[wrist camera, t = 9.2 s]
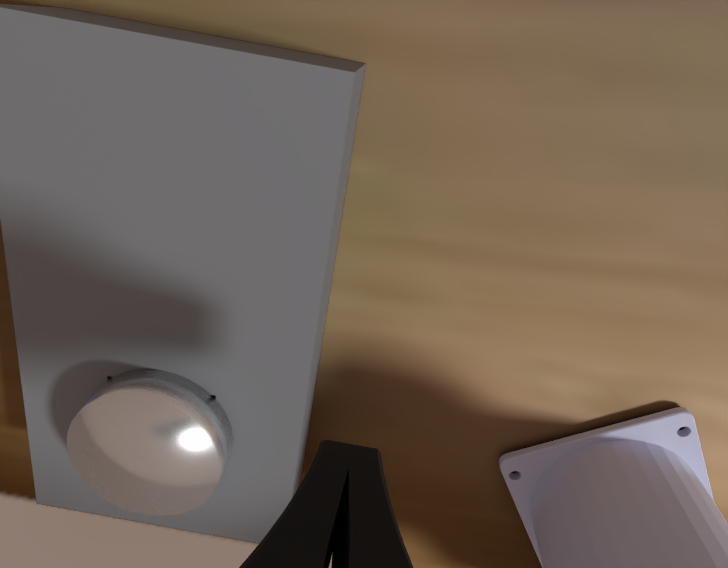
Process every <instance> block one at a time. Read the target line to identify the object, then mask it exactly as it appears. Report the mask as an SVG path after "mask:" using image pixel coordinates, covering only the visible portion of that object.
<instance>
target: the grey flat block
mask: <svg viewBox="0 0 728 568" xmlns="http://www.w3.org/2000/svg"><path fill="white" fill-rule="evenodd" d="M365 64H366V63H360V62H355V61H350V60H344V59H339V58H333V57H328V56H322V55H317V54H312V53H306V52H301V51H295V50H290V49H284V48H279V47H273V46H268V45H263V44H257V43H252V42H246V41H241V40H235V39H230V38H225V37H219V36H214V35H208V34H203V33H197V32H192V31H187V30H181V29H176V28H170V27H165V26H159V25H154V24H148V23H143V22H138V21H132V20H127V19H121V18H116V17H110V16H105V15H100V14H94V13H89V12H83V11H78V10H72V9H67V8H62V7H45V6H29V5H12V4H0V221H1V229H2V237H3V244H4V252H5V260H6V268H7V275H8V283H9V291H10V299H11V307H12V314H13V322H14V330H15V338H16V345H17V353H18V361H19V369H20V377H21V384H22V392H23V400H24V408H25V415H26V423H27V431H28V439H29V447H30V454H31V462H32V470H33V478H34V486H35V493H36V501H37V504H42V505H47V506H53V507H58V508H64V509H69V510H75V511H81V512H86V513H92V514H97V515H103V516H108V517H114V518H120V519H125V520H131V521H136V522H142V523H147V524H153V525H158V526H164V527H170V528H175V529H181V530H186V531H192V532H197V533H203V534H209V535H214V536H220V537H225V538H231V539H236V540H242V541H247V542H253V543H259V544H260V542H261V541H262V540H263V538H264V537H265V536H266V535H267V533H268V532H269V531H270V529H271V528H272V526H273V525H274V524H275V522H276V521H277V520H278V518H279V517H280V515H281V514H282V513H283V511H284V510H285V508H286V507H287V505H288V504H289V502H290V501H291V499H292V498H293V496H294V494H295V493H296V491H297V490H298V488H299V484H300V479H301V475H302V469H303V463H304V456H305V450H306V443H307V437H308V431H309V424H310V418H311V411H312V405H313V399H314V392H315V386H316V379H317V373H318V366H319V360H320V354H321V347H322V341H323V334H324V328H325V321H326V315H327V309H328V302H329V296H330V289H331V283H332V276H333V270H334V264H335V257H336V251H337V244H338V238H339V231H340V225H341V219H342V212H343V206H344V199H345V193H346V186H347V180H348V174H349V167H350V161H351V154H352V148H353V141H354V135H355V129H356V122H357V116H358V109H359V103H360V96H361V90H362V84H363V77H364V71H365ZM136 369H157V370H163V371H168V372H172V373H175V374H178V375H180V376H183V377H185V378H188V379H189V380H191V381H193V382H195V383H197V384H198V385H199V386H201V387H202V388H204V389H205V390H206V391H207V392H209V393H210V394H211V395H215V396H216V400H217V401H218V402H219V404H220V405H221V407H222V408H223V409H224V411H225V413H226V415H227V417H228V419H229V421H230V424H231V428H232V433H233V444H232V449H231V453H230V456H229V458H228V460H227V463H226V465H225V467H224V470H223V472H222V475H221V477H220V479H219V482H218V484H217V486H216V488H215V490H214V492H213V493H212V495H211V496H210V497H209V498H208V499H207V500H206V501H205V502H204V503H203V504H201V505H200V506H198V507H197V508H195V509H193V510H190V511H187V512H185V513H181V514H176V515H168V516H155V515H146V514H141V513H137V512H133V511H130V510H127V509H124V508H122V507H119V506H117V505H115V504H113V503H111V502H109V501H108V500H106V499H104V498H103V497H101V496H100V495H99V494H97V493H96V492H94V491H93V490H92V489H91V488H90V487H89V486H88V485H87V484H86V483H85V482H84V481H83V480H82V479H81V477H80V476H79V474H78V473H77V472H76V470H75V468H74V466H73V465H72V462H71V460H70V457H69V454H68V450H67V433H68V429H69V426H70V424H71V422H72V420H73V419H74V417H75V416H76V415H77V413H78V412H79V411H80V410H81V409H82V408H83V406H84V405H85V404H86V403H87V402H88V401H89V399H90V398H91V397H92V396H93V395H94V394H95V392H96V391H97V390H98V389H99V388H100V387H101V385H103V384H104V383H105V382H106V381H107V380H109V379H110V378H112V377H113V376H115V375H118V374H120V373H122V372H126V371H129V370H136Z"/></svg>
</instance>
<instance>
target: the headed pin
mask: <svg viewBox="0 0 728 568" xmlns="http://www.w3.org/2000/svg"><path fill="white" fill-rule="evenodd" d="M232 444H233V433H232V428H231V424H230V421H229V419H228V417H227V415H226V413H225V411H224V409H223V408H222V407H221V405H220V404H219V402H218V401H217V400H216V396H215V395H211V394H210V393H209V392H207V391H206V390H205V389H204V388H202V387H201V386H199V385H198V384H197V383H195V382H193V381H191V380H189V379H188V378H185V377H183V376H180V375H178V374H175V373H172V372H168V371H163V370H157V369H136V370H129V371H126V372H122V373H120V374H118V375H115V376H113V377H112V378H110V379H109V380H107V381H106V382H105V383H104V384H103V385H101V387H100V388H99V389H98V390H97V391H96V392H95V394H94V395H93V396H92V397H91V398H90V399H89V401H88V402H87V403H86V404H85V405H84V406H83V408H82V409H81V410H80V411H79V412H78V413H77V415H76V416H75V417H74V419H73V420H72V422H71V424H70V426H69V429H68V433H67V450H68V454H69V457H70V460H71V462H72V465H73V466H74V468H75V470H76V472H77V473H78V474H79V476H80V477H81V479H82V480H83V481H84V482H85V483H86V484H87V485H88V486H89V487H90V488H91V489H92V490H93V491H94V492H96V493H97V494H99V495H100V496H101V497H103V498H104V499H106V500H108V501H109V502H111V503H113V504H115V505H117V506H119V507H122V508H124V509H127V510H130V511H133V512H137V513H141V514H146V515H155V516H168V515H176V514H181V513H185V512H187V511H190V510H193V509H195V508H197V507H198V506H200V505H201V504H203V503H204V502H205V501H206V500H207V499H208V498H209V497H210V496H211V495H212V493H213V492H214V490H215V488H216V486H217V484H218V482H219V479H220V477H221V475H222V472H223V470H224V467H225V465H226V463H227V460H228V458H229V456H230V453H231V449H232Z"/></svg>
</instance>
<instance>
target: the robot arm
mask: <svg viewBox="0 0 728 568" xmlns="http://www.w3.org/2000/svg"><path fill="white" fill-rule="evenodd" d="M681 427H685V428H684V429H683V430H679V428H681ZM499 466H500V470H501V472H502V475H503V477H504V479H505V482H506V484H507V486H508V489H509V491H510V493H511V496H512V498H513V500H514V503H515V505H516V507H517V510H518V512H519V514H520V517H521V519H522V521H523V524H524V526H525V529H526V531H527V533H528V536H529V538H530V540H531V543H532V545H533V547H534V550H535V552H536V554H537V557H538V559H539V561H540V564H541V566H542V568H728V523H727V521H726V519H725V518H724V516H723V515H722V513H721V512H720V510H719V509H718V507H717V506H716V504H715V502H714V499H713V495H712V491H711V486H710V482H709V478H708V474H707V470H706V466H705V461H704V457H703V453H702V449H701V445H700V440H699V436H698V432H697V428H696V424H695V420H694V417H693V415H692V414H691V412H690V411H689V410H688V409H686V408H683V407H677V408H672V409H669V410H665V411H661V412H658V413H654V414H650V415H646V416H643V417H639V418H635V419H632V420H628V421H624V422H621V423H617V424H613V425H609V426H606V427H602V428H598V429H595V430H591V431H587V432H583V433H580V434H576V435H572V436H569V437H565V438H561V439H557V440H554V441H550V442H546V443H543V444H539V445H535V446H532V447H528V448H524V449H520V450H517V451H513V452H509V453H506V454H504V455H502V456H501V457H500V459H499ZM513 471H518V472H517V473H513V474H512V473H511V472H513ZM332 551H333V553H332ZM331 555H332V568H413V566H412V563H411V561H410V558H409V555H408V553H407V550H406V548H405V545H404V542H403V539H402V537H401V534H400V531H399V528H398V525H397V522H396V518H395V515H394V512H393V509H392V506H391V502H390V498H389V495H388V491H387V486H386V482H385V478H384V473H383V467H382V460H381V453H380V452H379V451H378V449H375V448H369V447H363V446H358V445H352V444H346V443H341V442H335V441H329V440H325V441H323V442H321V443H320V446H319V449H318V452H317V454H316V456H315V459H314V461H313V463H312V465H311V467H310V469H309V471H308V473H307V474H306V476H305V478H304V480H303V482H302V483H301V485H300V486H299V488H298V490H297V491H296V493H295V494H294V496H293V498H292V499H291V501H290V502H289V504H288V505H287V507H286V508H285V510H284V511H283V513H282V514H281V515H280V517H279V518H278V520H277V521H276V522H275V524H274V525H273V526H272V528H271V529H270V531H269V532H268V533H267V535H266V536H265V537H264V538H263V540H262V541H261V542H260V544H259V545H258V546H257V547H256V548H255V550H254V551H253V552H252V553H251V555H250V556H249V557H248V558H247V559H246V560H245V562H244V563H243V564H242V565H241V566H240V567H239V568H328V567H329V564H330V560H331Z"/></svg>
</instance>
